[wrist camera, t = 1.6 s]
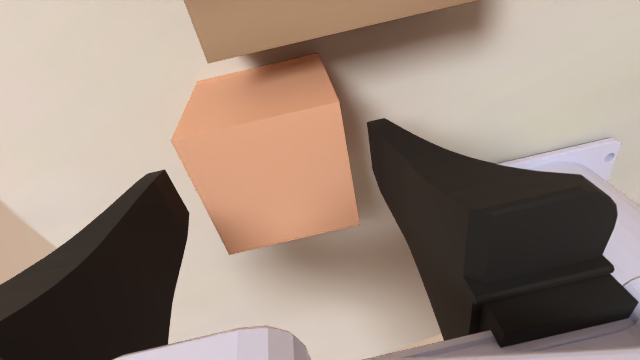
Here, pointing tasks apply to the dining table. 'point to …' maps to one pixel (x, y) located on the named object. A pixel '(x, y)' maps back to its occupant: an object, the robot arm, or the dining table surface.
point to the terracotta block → (268, 154)
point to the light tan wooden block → (289, 21)
